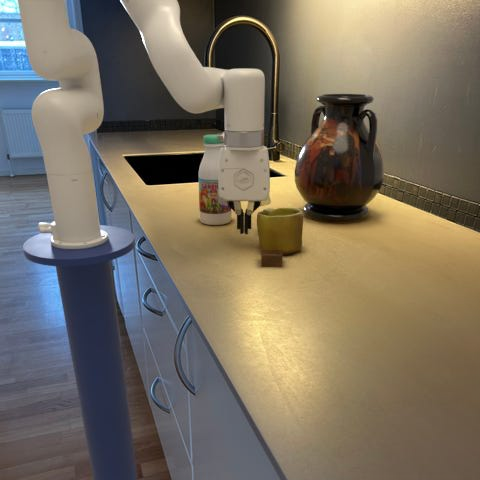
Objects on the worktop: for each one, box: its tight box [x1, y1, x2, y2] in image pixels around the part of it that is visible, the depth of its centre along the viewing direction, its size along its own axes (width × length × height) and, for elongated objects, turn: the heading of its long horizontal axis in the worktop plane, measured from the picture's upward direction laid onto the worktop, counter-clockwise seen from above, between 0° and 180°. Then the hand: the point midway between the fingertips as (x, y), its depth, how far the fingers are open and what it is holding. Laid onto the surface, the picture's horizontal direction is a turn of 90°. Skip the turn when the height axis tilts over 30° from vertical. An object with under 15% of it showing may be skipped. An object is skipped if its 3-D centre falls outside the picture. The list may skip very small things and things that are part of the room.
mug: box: [256, 207, 304, 255], centre depth 106 cm, size 12×10×10 cm
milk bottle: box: [198, 134, 232, 226], centre depth 121 cm, size 8×8×20 cm
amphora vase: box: [294, 93, 385, 224], centre depth 123 cm, size 22×22×28 cm
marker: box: [260, 249, 284, 268], centre depth 98 cm, size 4×3×2 cm
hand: (244, 232), depth 107 cm, fingers closed
